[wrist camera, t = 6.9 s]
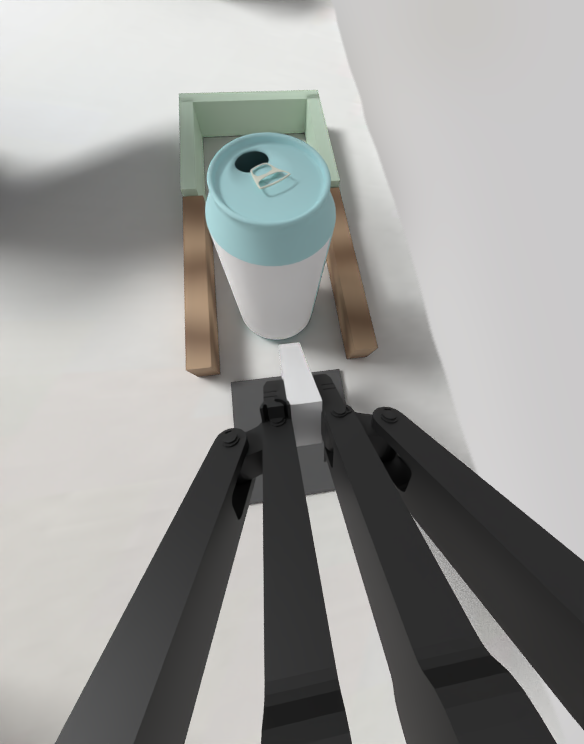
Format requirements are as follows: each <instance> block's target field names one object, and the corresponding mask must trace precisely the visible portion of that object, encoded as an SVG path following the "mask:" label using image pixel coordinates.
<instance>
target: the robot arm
mask: <svg viewBox="0 0 584 744" xmlns="http://www.w3.org/2000/svg"><path fill="white" fill-rule="evenodd" d="M278 347H279V356H280V366H281V375H282V379H281V380H273V381H267V382H266V383H265V385H264V386H263V403H262V404H261V406H260V414H261V419H262V422H261V423H260V424H259V425H258V426H257V427H255V428H253V429H251V430H249V431H247V432H244V431H243V430H242V429H238V428H231V429H228V430H225V431H223V432H222V433H220V434H219V435H218V436H217V438H216V439H215V441H214V443H213V445H212V446H211V448H210V450H209V452H208V454H207V456H206V458H205V460H204V462H203V464H202V465H201V467H200V469H199V471H198V473H197V475H196V477H195V479H194V481H193V483H192V484H191V486H190V488H189V490H188V492H187V494H186V496H185V498H184V500H183V502H182V503H181V505H180V507H179V509H178V511H177V513H176V515H175V517H174V519H173V520H172V522H171V524H170V526H169V528H168V530H167V532H166V534H165V536H164V538H163V539H162V541H161V543H160V545H159V547H158V549H157V551H156V553H155V555H154V557H153V558H152V560H151V562H150V564H149V566H148V568H147V570H146V572H145V574H144V576H143V577H142V579H141V581H140V583H139V585H138V587H137V589H136V591H135V593H134V594H133V596H132V598H131V600H130V602H129V604H128V606H127V608H126V610H125V612H124V613H123V615H122V617H121V619H120V621H119V623H118V625H117V627H116V629H115V631H114V632H113V634H112V636H111V638H110V640H109V642H108V644H107V646H106V648H105V650H104V651H103V653H102V655H101V657H100V659H99V661H98V663H97V665H96V667H95V668H94V670H93V672H92V674H91V676H90V678H89V680H88V682H87V684H86V686H85V687H84V689H83V691H82V693H81V695H80V697H79V699H78V701H77V703H76V705H75V706H74V708H73V710H72V712H71V714H70V716H69V718H68V720H67V722H66V724H65V725H64V727H63V729H62V731H61V733H60V735H59V737H58V739H57V741H56V742H55V744H184V743H185V739H186V735H187V732H188V728H189V724H190V721H191V717H192V713H193V710H194V706H195V702H196V698H197V695H198V691H199V687H200V684H201V680H202V676H203V673H204V669H205V665H206V662H207V658H208V654H209V650H210V647H211V643H212V639H213V636H214V632H215V628H216V625H217V621H218V617H219V613H220V610H221V606H222V602H223V599H224V595H225V591H226V588H227V584H228V580H229V576H230V573H231V569H232V565H233V562H234V558H235V554H236V551H237V547H238V543H239V539H240V536H241V532H242V528H243V525H244V521H245V517H246V514H247V510H248V506H249V502H250V499H251V495H252V491H253V488H254V484H255V480H256V477H257V476H259V475H261V474H263V560H264V667H265V698H264V714H263V724H262V737H261V744H352V742H351V736H350V731H349V726H348V721H347V717H346V712H345V707H344V703H343V699H342V695H341V691H340V686H339V681H338V676H337V670H336V665H335V659H334V654H333V648H332V643H331V637H330V631H329V626H328V620H327V614H326V609H325V603H324V598H323V592H322V586H321V581H320V575H319V570H318V564H317V558H316V553H315V547H314V541H313V536H312V530H311V525H310V519H309V513H308V508H307V502H306V497H305V491H304V485H303V480H302V474H301V468H300V463H299V457H298V452H297V447H298V446H304V445H311V444H318V443H322V439H323V442H324V462H326V459H327V463H328V466H329V469H330V473H331V476H332V479H333V483H334V486H335V489H336V493H337V496H338V500H339V503H340V506H341V510H342V513H343V516H344V520H345V523H346V526H347V530H348V533H349V536H350V540H351V543H352V546H353V550H354V553H355V556H356V560H357V563H358V566H359V570H360V573H361V576H362V580H363V583H364V586H365V590H366V593H367V596H368V600H369V603H370V606H371V610H372V613H373V616H374V620H375V623H376V626H377V630H378V633H379V636H380V640H381V643H382V646H383V650H384V653H385V656H386V660H387V663H388V666H389V670H390V674H391V678H392V682H393V688H394V695H395V702H396V706H397V711H398V715H399V718H400V722H401V726H402V730H403V733H404V737H405V740H406V743H407V744H557V743H556V742H555V740H554V738H553V737H552V735H551V733H550V732H549V730H548V728H547V726H546V725H545V723H544V721H543V720H542V718H541V716H540V715H539V713H538V712H537V710H536V708H535V707H534V705H533V704H532V702H531V701H530V699H529V698H528V696H527V695H526V693H525V691H524V690H523V689H522V687H521V686H520V685H519V684H518V682H517V681H516V680H515V679H514V677H513V676H512V675H511V674H510V672H509V671H508V670H507V669H506V668H504V667H503V666H502V665H501V664H500V663H499V662H498V661H497V660H496V659H495V658H494V657H492V656H491V655H490V653H489V652H488V651H487V649H486V648H485V647H484V645H483V644H482V642H481V641H480V639H479V637H478V636H477V634H476V632H475V630H474V629H473V627H472V625H471V623H470V621H469V619H468V618H467V616H466V614H465V612H464V610H463V609H462V607H461V605H460V603H459V601H458V599H457V598H456V596H455V594H454V592H453V590H452V589H451V587H450V585H449V583H448V581H447V579H446V578H445V576H444V574H443V572H442V570H441V569H440V567H439V565H438V563H437V561H436V559H435V558H434V556H433V554H432V552H431V550H430V549H429V547H428V545H427V543H426V541H425V539H424V538H423V536H422V534H421V532H420V530H419V529H418V527H417V525H416V523H415V521H414V519H415V520H416V521H417V522H418V524H419V525H420V526H421V527H422V529H423V530H424V531H425V532H426V534H427V535H428V536H429V537H430V539H431V540H432V541H433V542H434V544H435V545H436V546H437V547H438V549H439V550H440V551H441V552H442V554H443V555H444V556H445V557H446V559H447V560H448V561H449V562H450V564H451V565H452V566H453V567H454V569H455V570H456V571H457V572H458V574H459V575H460V576H461V577H462V579H463V580H464V581H465V582H466V584H467V585H468V586H469V588H470V589H471V590H472V591H473V593H474V594H475V595H476V596H477V598H478V599H479V600H480V601H481V603H482V604H483V605H484V606H485V608H486V609H487V610H488V611H489V613H490V614H491V615H492V616H493V618H494V619H495V620H496V621H497V623H498V624H499V625H500V626H501V628H502V629H503V630H504V631H505V633H506V634H507V635H508V636H509V638H510V639H511V640H512V641H513V643H514V644H515V645H516V646H517V648H518V649H519V650H520V652H521V653H522V654H523V655H524V657H525V658H526V659H527V660H528V662H529V663H530V664H531V665H532V667H533V668H534V669H535V670H536V672H537V673H538V674H539V675H540V677H541V678H542V679H543V680H544V682H545V683H546V684H547V685H548V687H549V688H550V689H551V690H552V692H553V693H554V694H555V695H556V697H557V698H558V699H559V700H560V702H561V703H562V704H563V705H564V707H565V708H566V709H567V710H568V712H569V713H570V714H571V715H572V717H573V718H574V719H575V720H576V721H577V723H578V724H579V725H580V726H581V727H582V729H583V730H584V561H583V560H582V559H580V558H579V557H578V556H577V555H575V554H574V553H573V552H572V551H570V550H569V549H568V548H567V547H565V546H564V545H563V544H562V543H561V542H559V541H558V540H557V539H556V538H554V537H553V536H552V535H551V534H550V533H548V532H547V531H546V530H545V529H543V528H542V527H541V526H540V525H539V524H537V523H536V522H535V521H533V520H532V519H531V518H530V517H529V516H527V515H526V514H525V513H524V512H522V511H521V510H520V509H519V508H517V507H516V506H515V505H514V504H512V503H511V502H510V501H509V500H508V499H507V498H505V497H504V496H503V495H502V494H500V493H499V492H498V491H497V490H495V489H494V488H493V487H492V486H491V485H489V484H488V483H487V482H486V481H484V480H483V479H482V478H481V477H480V476H478V475H477V474H476V473H475V472H473V471H472V470H471V469H470V468H468V467H467V466H466V465H465V464H464V463H462V462H461V461H460V460H459V459H457V458H456V457H455V456H454V455H452V454H451V453H450V452H449V451H448V450H446V449H445V448H444V447H443V446H441V445H440V444H439V443H438V442H436V441H435V440H434V439H433V438H432V437H430V436H429V435H428V434H427V433H425V432H424V431H423V430H422V429H420V428H419V427H418V426H417V425H416V424H414V423H413V422H412V421H411V420H409V419H408V418H407V417H406V416H405V415H403V414H402V413H401V412H399V411H398V410H396V409H393V408H390V407H380V408H377V409H376V410H374V412H373V415H371V414H361V413H357V412H354V410H353V409H352V408H351V407H350V406H348V405H346V404H344V402H343V400H342V398H341V396H340V394H339V392H338V390H337V388H336V386H335V384H334V383H333V381H332V379H331V377H329V376H328V375H327V374H317V375H312V373H311V371H310V368H309V366H308V363H307V360H306V358H305V355H304V353H303V350H302V348H301V345H300V342H298V343H289V344H280V345H278ZM410 513H411V514H410ZM411 515H412V516H413V517H414V519H413V518H412V516H411Z"/></svg>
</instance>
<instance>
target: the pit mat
mask: <svg viewBox="0 0 584 744" xmlns="http://www.w3.org/2000/svg"><path fill="white" fill-rule="evenodd" d="M317 374H327V375H328V376H329V377H331V379H332V381H333V383H334V384H335V386H336V388H337V390H338V392H339V394H340V396H341V398H342V400H343V402H344V404H346V402H345V397H344V391H343V386H342V381H341V376H340V371H339V369H336V370H328V371H320V372H312V375H317ZM281 379H282V376H279V377H271V378H263V379H255V380H247V381H238V382H231V389H232V404H233V418H234V428H238V429H242V430H243V431H244V432H247V431H249V430H251V429H253V428H255V427H257V426H258V425H259V424H260V423H261V422H262V419H261V414H260V406H261V404H262V403H263V386H264V385H265V383H266V382H267V381H273V380H281ZM297 452H298V457H299V463H300V468H301V474H302V480H303V485H304V491H305V495H307V494H313V493H319V492H325V491H331V490H336V489H335V486H334V483H333V479H332V476H331V473H330V469H329V466H328V463H327V459H326V462H324V442H323V439H322V443H318V444H311V445H304V446H298V447H297ZM258 502H263V474H261V475H259V476H257V477H256V480H255V484H254V488H253V491H252V495H251V499H250V502H249V504H252V503H258Z"/></svg>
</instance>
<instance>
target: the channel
mask: <svg viewBox="0 0 584 744" xmlns="http://www.w3.org/2000/svg"><path fill="white" fill-rule="evenodd" d="M330 192H331V194H332V197H333V200H334V203H335V208H336V222H335V227H334V231H333V234H332V238H331V242H330V246H329V250H328V254H327V258H326V260H327V265H328V270H329V275H330V280H331V285H332V289H333V294H334V299H335V304H336V309H337V314H338V319H339V324H340V329H341V333H342V338H343V343H344V348H345V353H346V358H347V359H351V358H360V357H367V356H368V355H369V354H371V353H372V352H373V351H374V350H376V349H377V348H378V346H377V342H376V337H375V333H374V329H373V325H372V321H371V317H370V313H369V309H368V305H367V301H366V296H365V292H364V288H363V284H362V280H361V276H360V272H359V268H358V264H357V259H356V255H355V251H354V247H353V243H352V239H351V235H350V231H349V227H348V223H347V218H346V214H345V210H344V206H343V202H342V198H341V194H340V190H339V187H334V188H330ZM205 205H206V202H205V200H204V197H203V195H201V196H185V197H183V244H184V296H185V349H186V370H187V371H188V372H190V373H192V374H194V375H196V376H197V377H201V376H209V375H218V374H220V362H219V345H218V328H217V310H216V293H215V276H214V258H213V241H212V237H211V234H210V232H209V229H208V226H207V223H206V216H205Z"/></svg>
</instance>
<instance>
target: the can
mask: <svg viewBox="0 0 584 744" xmlns="http://www.w3.org/2000/svg"><path fill="white" fill-rule="evenodd" d="M207 185H208V189H209V193H208V196H207V200H206V205H205V216H206V223H207V226H208V229H209V232H210V234H211V237H212V240H213V242H214V245H215V247H216V250H217V253H218V255H219V258H220V261H221V263H222V266H223V268H224V271H225V274H226V276H227V279H228V282H229V284H230V287H231V289H232V292H233V295H234V297H235V300H236V303H237V305H238V308H239V310H240V313H241V316H242V318H243V320H244V322H245V324H246V325H247V326H248V328H249V329H250V330H252V331H253V332H254V333H256V334H257V335H259V336H261V337H264V338H268V339H276V340H278V339H286V338H289V337H292V336H294V335H296V334H298V333H299V332H300V331H302V330H303V329H304V328H305V327H306V325H307V324H308V322H309V320H310V318H311V315H312V311H313V307H314V304H315V300H316V296H317V292H318V288H319V284H320V281H321V277H322V273H323V269H324V265H325V261H326V258H327V254H328V250H329V246H330V242H331V238H332V234H333V231H334V227H335V222H336V208H335V203H334V200H333V197H332V194H331V192H330V187H331V176H330V172H329V169H328V166H327V164H326V162H325V161H324V159H323V158H322V157H321V155H320V154H319V153H318V152H317V151H316V150H315V149H314V148H313V147H311V146H310V145H309V144H307V143H305V142H304V141H302V140H300V139H297V138H295V137H292V136H289V135H285V134H280V133H271V132H262V133H253V134H248V135H245V136H241V137H239V138H236V139H234V140H232V141H231V142H229V143H227V144H226V145H224V146H223V147H222V148H221V149H220V150H219V151H218V152H217V153H216V155H215V156H214V157H213V159H212V161H211V162H210V165H209V168H208V171H207Z"/></svg>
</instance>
